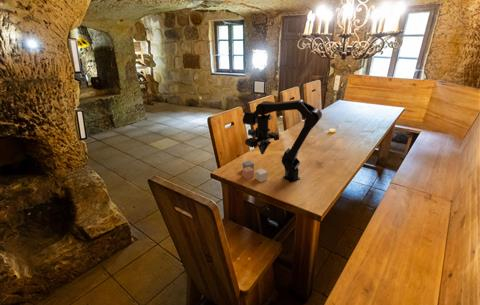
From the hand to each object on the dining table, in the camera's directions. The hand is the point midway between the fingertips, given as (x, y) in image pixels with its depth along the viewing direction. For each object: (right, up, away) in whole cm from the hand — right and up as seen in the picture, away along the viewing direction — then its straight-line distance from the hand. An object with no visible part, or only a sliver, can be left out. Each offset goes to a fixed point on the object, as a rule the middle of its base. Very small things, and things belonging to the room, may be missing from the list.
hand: (262, 154), depth 139 cm
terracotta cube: (-7, -12, 0) cm, 14 cm away
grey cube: (-7, -9, +6) cm, 13 cm away
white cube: (-1, -13, -3) cm, 13 cm away
